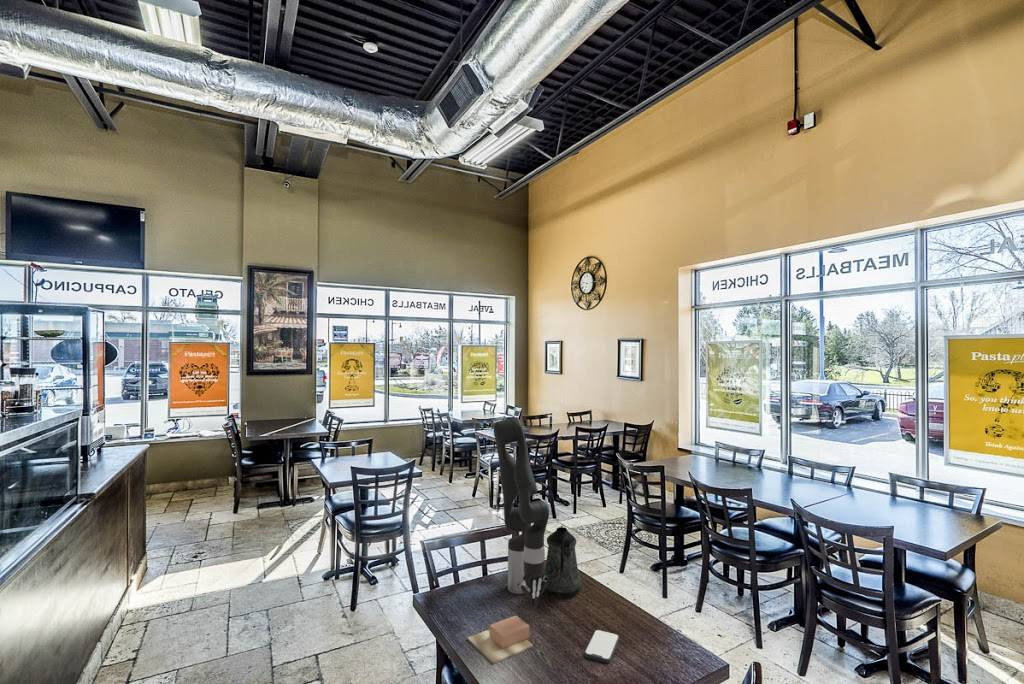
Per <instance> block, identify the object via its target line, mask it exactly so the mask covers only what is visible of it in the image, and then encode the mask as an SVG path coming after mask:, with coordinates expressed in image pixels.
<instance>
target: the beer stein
mask: <svg viewBox="0 0 1024 684" xmlns="http://www.w3.org/2000/svg"><path fill="white" fill-rule="evenodd" d="M546 544H547V545H548V546H547V547H548V548H547V554H546V560H545V571H544V574H545V576H547V577H548V578H550V580H549V582H548V584H547V586H546V588H545V590H544V593H546V594H547V595H548V596H552V597H554V598H559V599H567V598H572V597H576V596H577V595H579V594H580V593H581V587H582V578H581V575H580V572H579V568H578V567H579V566H578V562H577V554H576V545H577V538H576V537H575V536H574V535H573V534H572V533H571V532H569V530H568V529H567V527H563V526H561V527H560V526H559V527H556V530H555V531H554V532H552V533H550V534H549V535H548V537H546Z"/></svg>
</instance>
